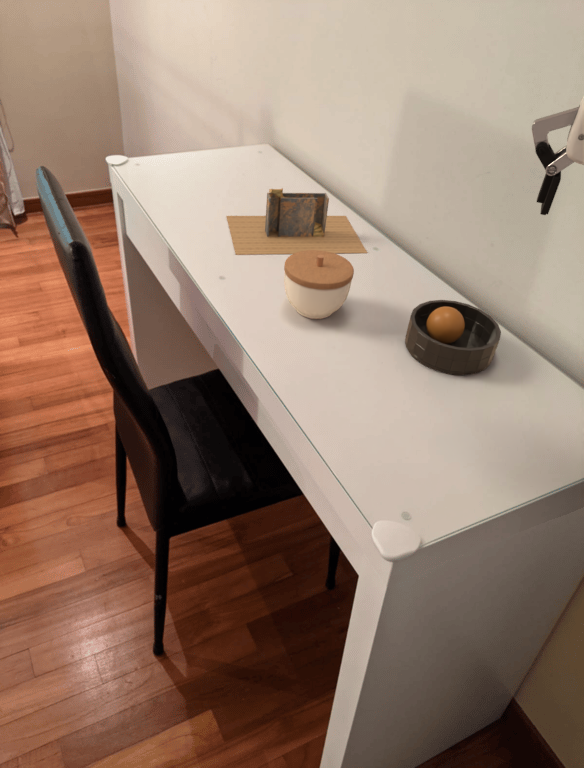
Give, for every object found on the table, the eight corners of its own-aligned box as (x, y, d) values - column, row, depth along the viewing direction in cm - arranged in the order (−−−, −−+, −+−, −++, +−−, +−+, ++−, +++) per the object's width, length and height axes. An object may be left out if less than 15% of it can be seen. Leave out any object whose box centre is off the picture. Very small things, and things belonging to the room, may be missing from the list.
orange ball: (470, 333, 94) (462, 299, 92) (465, 345, 89) (457, 308, 87) (434, 340, 96) (426, 306, 95) (427, 351, 91) (419, 316, 90)
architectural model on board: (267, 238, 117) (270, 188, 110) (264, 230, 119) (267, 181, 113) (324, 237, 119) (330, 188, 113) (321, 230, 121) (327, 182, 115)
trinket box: (359, 307, 100) (368, 255, 94) (324, 335, 93) (332, 281, 87) (304, 284, 104) (310, 233, 98) (267, 310, 97) (271, 256, 91)
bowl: (495, 337, 97) (504, 313, 94) (487, 385, 87) (496, 360, 84) (414, 315, 99) (420, 292, 97) (396, 360, 90) (402, 335, 87)
